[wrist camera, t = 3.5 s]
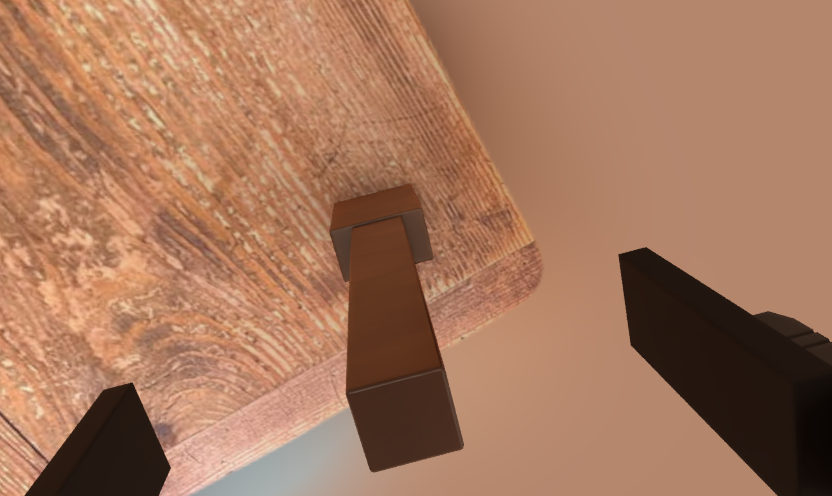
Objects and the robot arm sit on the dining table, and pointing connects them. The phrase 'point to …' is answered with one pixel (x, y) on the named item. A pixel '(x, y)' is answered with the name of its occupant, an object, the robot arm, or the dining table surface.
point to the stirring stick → (392, 332)
